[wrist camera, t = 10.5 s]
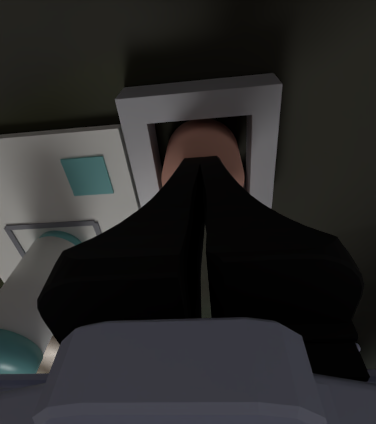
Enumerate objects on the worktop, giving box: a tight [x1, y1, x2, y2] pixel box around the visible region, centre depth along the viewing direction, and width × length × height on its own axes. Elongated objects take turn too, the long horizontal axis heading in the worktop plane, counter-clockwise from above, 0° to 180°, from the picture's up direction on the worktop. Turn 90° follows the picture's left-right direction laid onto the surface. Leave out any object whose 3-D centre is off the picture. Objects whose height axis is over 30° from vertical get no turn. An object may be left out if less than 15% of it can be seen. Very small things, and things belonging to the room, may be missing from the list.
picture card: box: [0, 124, 141, 336], centre depth 18 cm, size 16×10×1 cm, turn 6°
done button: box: [161, 119, 245, 187], centre depth 12 cm, size 3×3×2 cm
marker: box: [0, 231, 82, 374], centre depth 14 cm, size 3×3×7 cm
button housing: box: [115, 73, 282, 209], centre depth 13 cm, size 6×6×2 cm
